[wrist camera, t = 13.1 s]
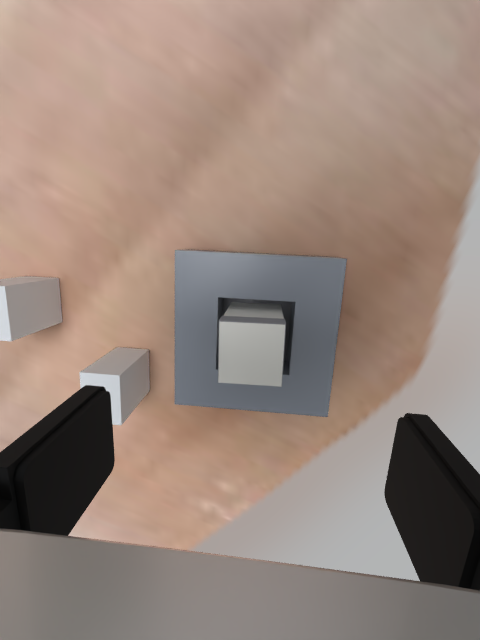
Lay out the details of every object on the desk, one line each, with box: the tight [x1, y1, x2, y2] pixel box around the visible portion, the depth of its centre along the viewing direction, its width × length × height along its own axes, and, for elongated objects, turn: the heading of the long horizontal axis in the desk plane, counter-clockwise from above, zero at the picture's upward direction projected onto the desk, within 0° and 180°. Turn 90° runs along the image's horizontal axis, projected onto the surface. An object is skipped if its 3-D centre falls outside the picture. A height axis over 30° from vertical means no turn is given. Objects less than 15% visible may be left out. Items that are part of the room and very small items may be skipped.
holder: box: [175, 249, 347, 417], centre depth 26 cm, size 12×12×4 cm
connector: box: [218, 302, 286, 387], centre depth 23 cm, size 4×4×7 cm
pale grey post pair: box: [0, 276, 150, 425], centre depth 26 cm, size 11×10×6 cm
